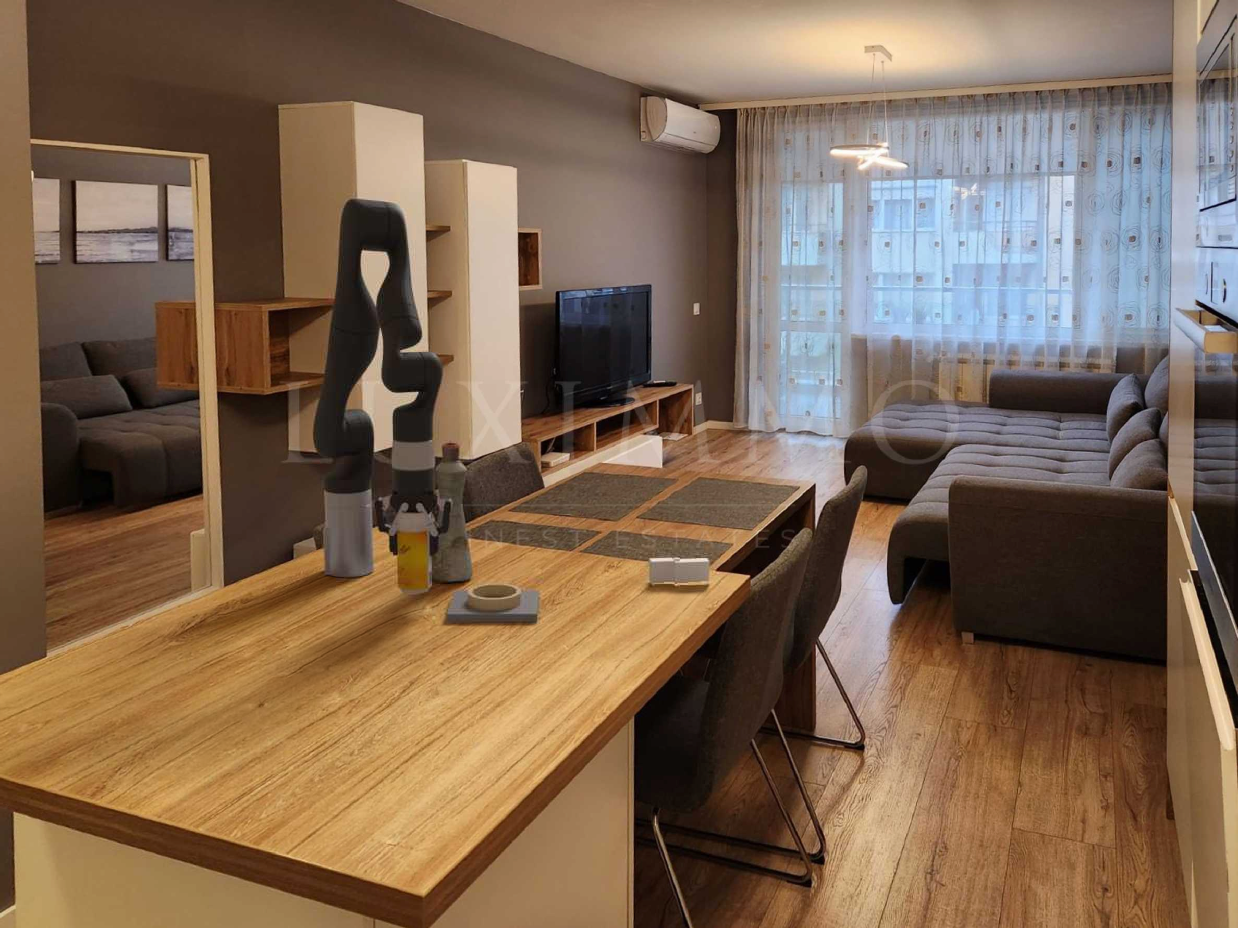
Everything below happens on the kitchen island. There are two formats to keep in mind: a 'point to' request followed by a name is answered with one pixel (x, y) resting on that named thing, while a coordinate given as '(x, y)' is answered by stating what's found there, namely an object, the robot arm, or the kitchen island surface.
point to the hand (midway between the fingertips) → (414, 554)
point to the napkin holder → (678, 570)
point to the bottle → (452, 521)
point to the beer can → (413, 553)
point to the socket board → (494, 604)
